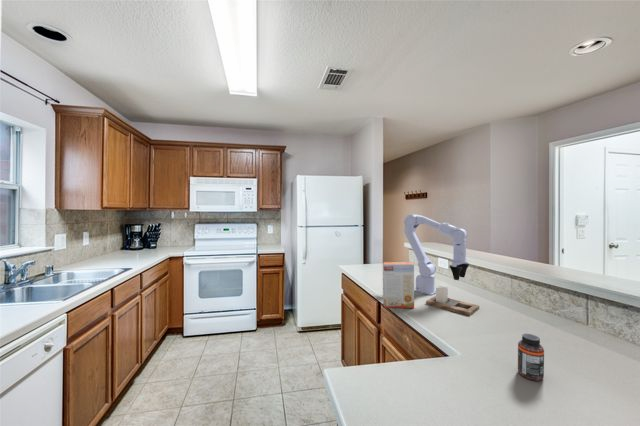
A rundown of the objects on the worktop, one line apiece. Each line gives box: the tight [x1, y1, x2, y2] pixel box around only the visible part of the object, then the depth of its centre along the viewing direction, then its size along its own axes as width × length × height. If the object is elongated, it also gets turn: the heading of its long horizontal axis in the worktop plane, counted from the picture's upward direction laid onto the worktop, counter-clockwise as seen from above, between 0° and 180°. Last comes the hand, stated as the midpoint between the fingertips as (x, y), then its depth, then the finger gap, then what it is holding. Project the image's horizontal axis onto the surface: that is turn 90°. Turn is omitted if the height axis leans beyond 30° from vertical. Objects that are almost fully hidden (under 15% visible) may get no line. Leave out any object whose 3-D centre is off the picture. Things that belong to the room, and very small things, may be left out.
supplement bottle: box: [517, 333, 545, 382], centre depth 79 cm, size 6×6×11 cm
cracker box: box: [382, 261, 415, 309], centre depth 133 cm, size 14×6×21 cm, turn 84°
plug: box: [435, 285, 449, 304], centre depth 135 cm, size 4×4×8 cm
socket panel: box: [425, 295, 480, 317], centre depth 132 cm, size 20×12×2 cm, turn 43°
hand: (459, 278), depth 143 cm, fingers open, 7 cm apart
